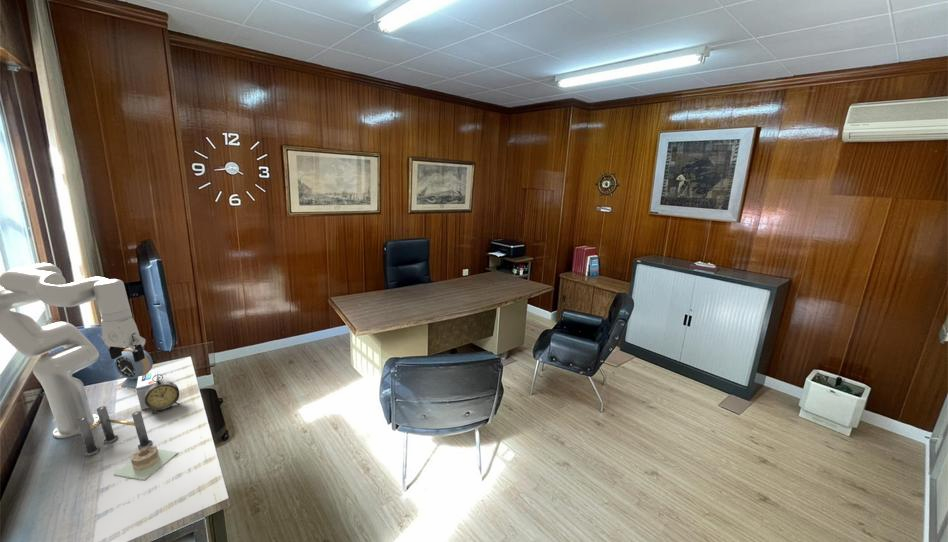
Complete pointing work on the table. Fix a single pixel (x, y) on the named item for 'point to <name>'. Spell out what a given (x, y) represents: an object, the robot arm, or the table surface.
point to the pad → (144, 474)
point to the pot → (145, 458)
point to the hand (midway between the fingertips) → (128, 358)
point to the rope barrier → (110, 430)
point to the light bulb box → (145, 387)
